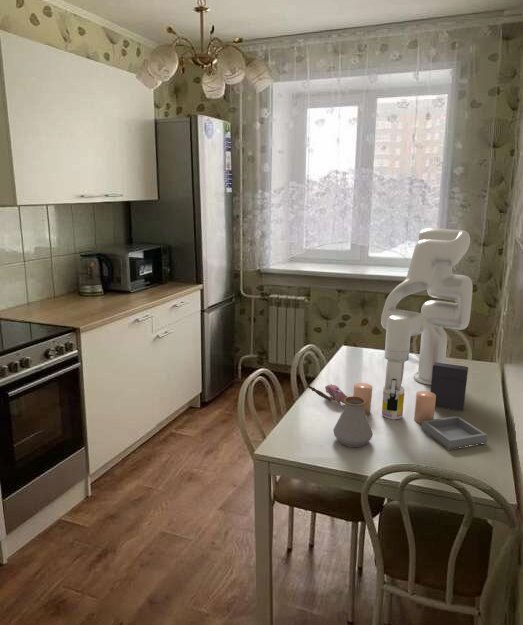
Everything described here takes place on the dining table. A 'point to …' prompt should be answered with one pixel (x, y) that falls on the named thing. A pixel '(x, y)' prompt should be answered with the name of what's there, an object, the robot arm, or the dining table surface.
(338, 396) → the pink purple bumpy rod
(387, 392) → the supplement bottle
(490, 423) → the dining table surface
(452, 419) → the tray
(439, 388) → the dark grey rectangular block
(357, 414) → the coffee pot
